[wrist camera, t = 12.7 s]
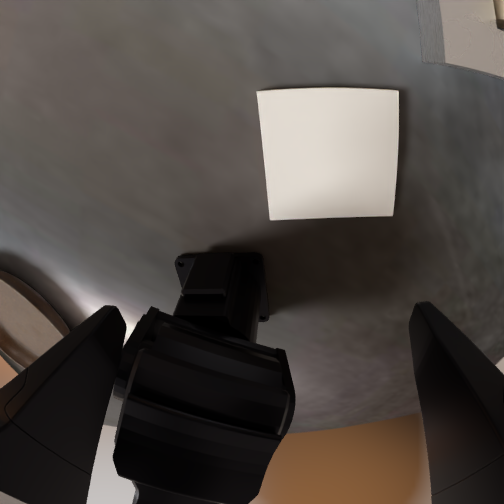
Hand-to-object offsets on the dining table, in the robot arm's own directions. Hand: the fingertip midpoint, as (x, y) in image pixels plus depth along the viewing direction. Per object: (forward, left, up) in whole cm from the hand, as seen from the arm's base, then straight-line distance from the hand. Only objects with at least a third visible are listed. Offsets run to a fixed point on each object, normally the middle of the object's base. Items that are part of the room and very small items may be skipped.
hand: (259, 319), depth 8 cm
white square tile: (+1, -4, -12) cm, 13 cm away
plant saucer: (-15, +32, -13) cm, 38 cm away
